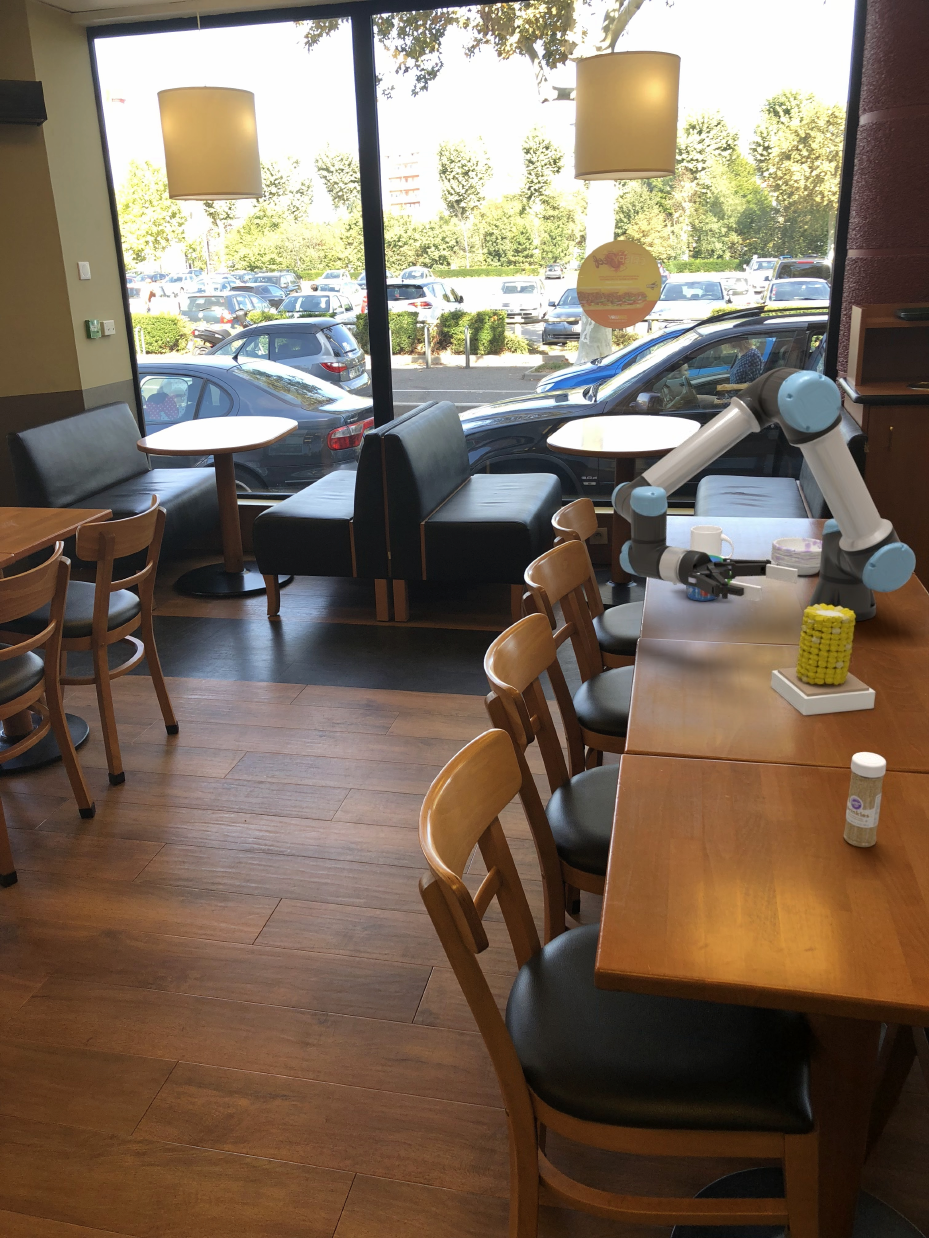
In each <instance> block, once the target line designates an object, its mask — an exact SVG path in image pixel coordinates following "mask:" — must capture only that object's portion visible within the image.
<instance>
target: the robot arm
mask: <svg viewBox="0 0 929 1238" xmlns="http://www.w3.org/2000/svg"><path fill="white" fill-rule="evenodd" d="M730 400H731V401H730V405H729V406H728V407H726V408H725V409H724V410H723V411H721V412H719V414H717V415H716V416H714V417H712V419H711V420H709V421H708V422H707V423H706V424H704V425H703V426H701V428H700V429H698V430H697V431H695V432H694V433H693V434H692V435H691V436H689V437H688V438H687V439H686V440H684V441H683V442H681V443H680V444H679V445H677V447H675V448H674V449H672V450H671V451H670V452H669V453H667V454H666V455H665V456H663V457H662V458H661V459H660V460H658V461H657V462H656V463H654V464H653V465H652V466H651V467H650V468H649V469H646V471H645V472H643V473H642V474H641V475H639V476H637V478H635V479H634V480H632V481H631V482H629V481H627V482H623V483H620V484H619V485H618V486H616V487H615V489H614V490H613V492H612V494H611V504H612V506H613V508H614V510H615V511H616V512H617V514H618V515H619V516H621V517H623V518H624V519H625V520H627V522H629V523H630V529H631V530H630V531H631V533H630V535H631V539H630V540H627V541H625V543H624V544H623V545H622V547H621V553H620V554H619V564H620V566H621V568H622V570H623V571H625V572H626V573H629V574H631V575H635V576H637V577H641V578H649V579H654V580H659V581H663V582H669V583H672V585H678V584H680V585H684V586H686V585H687V586H691V587H696V588H699V589H701V590H702V591H704V592H706V593H708V594H710V595H712V596H714V597H716V598H720V597H721V599H722V600H727V599H728V598H729V596H732V597H737V598H741V599H746V600H749V601H751V600H752V601H757V602H761V601H762V589H763V588H762V586H758V585H754V584H749V583H744V582H740V581H739V582H738V581H733V580H734V579H736V578H737V577H741V578H742V577H765V578H766V579H771V580H776V581H782V582H787V583H791V584H796V583H798V576H799V575H798V569H793V568H787V567H781V566H778V565H775V564H772V560H770V559H762V560H761V559H744V558H743V559H740V558H738V559H737V558H735V559H734V558H730V559H729V558H723V562H722V561H714V562H713V561H712V560H711V559H710V557H709V555H708V554H707V553H705V552H700V551H695V550H690V548H683V547H677V546H671V545H667V526H668V525H667V523H668V522H667V521H668V519H667V517H668V506H669V505H668V500H667V499H668V498H667V497H668V496H669V495H671V494H672V493H673V492H675V491H676V490H677V489H679V488H680V487H681V486H683V485H684V484H685V483H687V482H688V481H689V480H691V479H692V478H693V477H694V476H695V475H697V474H698V473H700V472H701V471H702V470H703V469H705V468H706V467H707V466H709V465H710V464H712V462H714V461H716V459H718V458H719V457H720V456H722V455H723V454H725V452H727V451H728V450H730V449H731V448H733V447H734V446H735V445H736V444H737V443H738V442H740V441H741V440H742V439H744V438H745V437H747V436H748V435H749V434H750V433H752V432H753V433H760V431H762V430H763V429H764V428H766V427H767V426H769V425H772V424H774V423H778V424H779V426H780V427H781V429H782V431H783V433H784V436H785V438H786V439H787V441H788V444H789V445H791V446H792V447H793V446H794V447H797V448H799V449H800V451H801V452H802V455H803V457H804V459H805V461H806V463H807V466H808V468H809V469H810V471H811V474H812V475H813V477H814V479H815V481H816V483H817V486H818V487H819V489H820V492H821V494H822V496H823V498H824V500H825V502H826V504H827V506H828V508H829V510H830V513H831V514H832V516H833V517H832V518H830V519H828V520H826V521H825V523H824V525H823V530H822V533H821V537H822V540H821V541H822V550H821V562H820V570H819V574H818V575H819V576H818V577H819V578H818V580H817V583H816V585H815V587H814V590H813V592H812V594H811V596H810V598H809V603H808V604H809V605H808V607H812V606H814V605H815V604H818V605H820V604H823V603H824V604H825V605H827V606H828V605H832V606H834V607H838V606H841V607H842V608H848V609H849V610H851V611H854V614H855V616H856V617H855V622H860V621H861V622H862V621H867V620H869V619H872V618H874V616H876V611H877V603H876V598H875V595H874V591H876V592H879V593H890V592H894V591H895V590H898V589H900V588H901V587H902V586H904V585H905V584H906V583H907V582H908V581H909V580H910V579H911V577H912V574H913V572H914V571H915V568H916V555H915V552H914V551H913V550H912V549H911V548H910V547H909V545H908V544H906V543H904V542H901V540H900V539H899V536H898V534H897V532H896V530H895V528H894V526H893V524H892V522H891V521H890V520H888V519H885V518H881V515H880V513H879V512H878V509H877V507H876V504H875V503H874V501H873V499H872V496H871V494H870V492H869V490H868V488H867V485H866V483H865V481H864V479H863V477H862V475H861V473H860V471H859V468H858V466H857V464H856V462H855V460H854V458H853V456H852V454H851V452H850V449H849V447H848V444H847V442H846V440H845V438H844V437H843V434H842V432H841V429H840V427H841V425H842V423H843V420H844V419H843V416H842V414H841V412H840V409H841V407H842V397H841V392H840V389H839V388H838V385H836V383H835V382H834V381H833V380H832V379H831V378H830V377H828V376H825V374H822V373H821V372H817V371H814V370H804V369H799V368H795V367H787V366H783V367H777V368H774V369H772V370H769V371H767V372H766V373H764V374H762V375H761V376H759V377H758V378H756V379H755V380H753V381H752V382H751V383H749V384H748V385H747V386H746V387H744V388H743V389H742V390H740V391H739V392H738V393H737V394H736V395H734V396H733V397H731V399H730ZM730 572H731V575H730ZM727 579H732V581H731V582H730V585H728V582H727ZM873 590H874V591H873Z"/></svg>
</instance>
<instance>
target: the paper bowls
mask: <svg viewBox="0 0 929 1238" xmlns="http://www.w3.org/2000/svg"><path fill="white" fill-rule="evenodd" d="M821 550H822V540H819V539H815V538H809V537H796V536H795V537H792V536H791V537H781V538H777V539H775V540H773V541H772V543H771V555H770V556H771V561H773V562H774V563H777V566H781V567H787V568H793V569H798V575H797V576H811V575H815V574H817V573H818V572H820V562H821Z"/></svg>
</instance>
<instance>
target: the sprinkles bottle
mask: <svg viewBox="0 0 929 1238" xmlns="http://www.w3.org/2000/svg"><path fill="white" fill-rule="evenodd" d="M886 769H887V761H886V759H885V757H883V756H881V755H880V754H877V753H874V752H868V751H862V752H861V751H860V752H856V753H855V754H853V756H852V757H851V763H850V770H851V775H850V783H849V791H848V798H847V803H846V812H845V813H846V814H845V819H846V820H845V825H844V832H843V838H844V840H845V841H846V842H847V843H849V844H850V845H852V846H855V847H858V848H859V847H860V848H869V847H872V846H874V845H875V844H876V842H877V831H878V830H877V829H878V825H879V820H880V819H879V817H880V808H881V801H882V792H883V791H882V789H883V781H884V776H885V774H886Z"/></svg>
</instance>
